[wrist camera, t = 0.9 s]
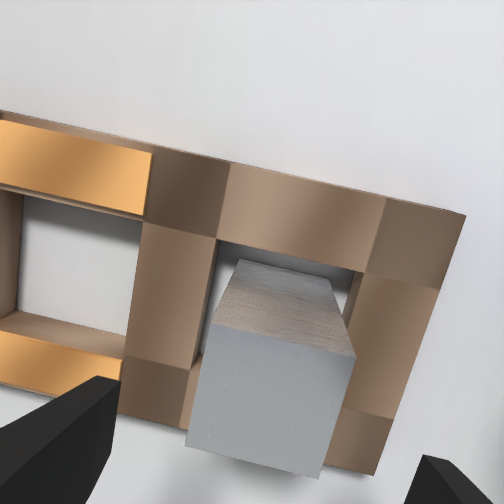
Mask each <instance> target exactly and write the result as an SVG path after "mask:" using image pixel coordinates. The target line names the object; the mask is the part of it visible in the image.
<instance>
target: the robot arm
mask: <svg viewBox="0 0 504 504" xmlns="http://www.w3.org/2000/svg"><path fill="white" fill-rule="evenodd" d="M121 382H122V381H119V380H115V379H111V378H107V377H103V376H99V375H96V376H94V377H92V378H91V379H89V380H87V381H85V382H83V383H82V384H80V385H78V386H76V387H75V388H73V389H71V390H69V391H68V392H66V393H64V394H62V395H61V396H59V397H57V398H55V399H54V400H52V401H50V402H48V403H46V404H45V405H43V406H41V407H39V408H37V409H36V410H34V411H32V412H30V413H28V414H26V415H25V416H23V417H21V418H19V419H17V420H15V421H14V422H12V423H10V424H8V425H6V426H4V427H2V428H0V504H85V503H86V501H87V500H88V498H89V497H90V495H91V493H92V491H93V489H94V487H95V485H96V483H97V481H98V479H99V477H100V475H101V472H102V470H103V468H104V466H105V464H106V462H107V460H108V458H109V456H110V454H111V449H112V442H113V436H114V429H115V422H116V416H117V409H118V402H119V396H120V389H121ZM404 504H493V503H492V502H491V501H490V500H489V499H488V498H487V497H486V496H485V495H484V494H483V493H482V492H481V491H480V490H479V489H478V488H477V487H476V486H475V485H474V484H473V483H472V482H471V481H470V480H469V479H468V478H467V477H466V476H465V475H464V474H463V473H462V472H461V471H460V470H459V469H458V468H457V467H456V466H455V465H454V464H452V463H451V462H450V461H449V460H445V459H441V458H436V457H432V456H428V455H424V454H423V455H422V458H421V460H420V463H419V466H418V468H417V471H416V473H415V476H414V479H413V481H412V484H411V486H410V489H409V491H408V494H407V497H406V499H405V502H404Z"/></svg>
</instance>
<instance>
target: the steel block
mask: <svg viewBox="0 0 504 504" xmlns="http://www.w3.org/2000/svg"><path fill="white" fill-rule="evenodd" d="M355 361H356V355H355V352H354V349H353V346H352V344H351V341H350V338H349V335H348V332H347V329H346V327H345V324H344V321H343V318H342V315H341V312H340V310H339V307H338V304H337V301H336V298H335V295H334V292H333V290H332V287H331V284H330V281H329V279H327V278H323V277H318V276H314V275H310V274H305V273H301V272H297V271H292V270H288V269H284V268H279V267H275V266H271V265H267V264H262V263H258V262H254V261H249V260H245V259H241V258H240V259H239V261H238V263H237V266H236V268H235V270H234V272H233V274H232V276H231V279H230V281H229V283H228V285H227V287H226V289H225V292H224V294H223V296H222V298H221V300H220V302H219V305H218V307H217V309H216V311H215V313H214V315H213V318H212V320H211V322H210V325H209V330H208V335H207V340H206V345H205V350H204V355H203V360H202V364H201V369H200V374H199V379H198V384H197V389H196V394H195V399H194V404H193V408H192V413H191V418H190V423H189V428H188V433H187V438H186V443H185V446H187V447H191V448H195V449H199V450H203V451H207V452H211V453H215V454H219V455H223V456H227V457H231V458H235V459H239V460H243V461H247V462H251V463H255V464H259V465H263V466H267V467H271V468H275V469H279V470H283V471H287V472H291V473H295V474H299V475H304V476H308V477H312V478H316V479H319V476H320V472H321V469H322V466H323V463H324V460H325V456H326V453H327V450H328V447H329V444H330V441H331V437H332V434H333V431H334V428H335V425H336V421H337V418H338V415H339V412H340V409H341V406H342V402H343V399H344V396H345V393H346V390H347V386H348V383H349V380H350V377H351V374H352V371H353V367H354V364H355Z"/></svg>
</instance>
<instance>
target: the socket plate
mask: <svg viewBox="0 0 504 504" xmlns="http://www.w3.org/2000/svg"><path fill="white" fill-rule="evenodd" d="M23 194H25V195H29V196H34V197H38V198H42V199H47V200H51V201H55V202H60V203H64V204H68V205H73V206H77V207H81V208H86V209H90V210H94V211H99V212H103V213H107V214H112V215H116V216H120V217H125V218H129V219H133V220H138V221H142V222H143V226H142V233H141V240H140V247H139V254H138V260H137V267H136V274H135V281H134V287H133V294H132V301H131V308H130V314H129V321H128V328H127V335H126V336H122V335H118V334H114V333H110V332H106V331H102V330H97V329H93V328H89V327H85V326H81V325H77V324H72V323H68V322H64V321H60V320H56V319H52V318H48V317H43V316H39V315H35V314H31V313H27V312H23V311H18V310H15V309H16V295H17V280H18V266H19V251H20V237H21V222H22V208H23ZM465 219H466V216H465V215H462V214H459V213H456V212H453V211H450V210H445V209H441V208H436V207H432V206H428V205H423V204H419V203H414V202H410V201H405V200H401V199H396V198H392V197H387V196H383V195H378V194H374V193H370V192H365V191H361V190H356V189H352V188H347V187H343V186H338V185H334V184H329V183H325V182H321V181H316V180H312V179H307V178H303V177H298V176H294V175H289V174H285V173H280V172H276V171H272V170H267V169H263V168H258V167H254V166H249V165H245V164H240V163H236V162H231V161H227V160H222V159H218V158H214V157H209V156H205V155H200V154H196V153H191V152H187V151H182V150H178V149H173V148H169V147H165V146H160V145H156V144H151V143H147V142H142V141H138V140H133V139H129V138H124V137H120V136H116V135H111V134H107V133H102V132H98V131H93V130H89V129H84V128H80V127H75V126H71V125H66V124H62V123H58V122H53V121H49V120H44V119H40V118H35V117H31V116H26V115H22V114H17V113H13V112H9V111H4V110H0V384H3V385H7V386H11V387H15V388H19V389H23V390H27V391H31V392H35V393H39V394H43V395H47V396H51V397H55V398H57V397H59V396H61V395H62V394H64V393H66V392H68V391H69V390H71V389H73V388H75V387H76V386H78V385H80V384H82V383H83V382H85V381H87V380H89V379H91V378H92V377H94V376H96V375H99V376H103V377H107V378H111V379H115V380H119V381H122V382H121V389H120V396H119V402H118V409H117V413H120V414H124V415H128V416H132V417H136V418H141V419H145V420H149V421H153V422H157V423H161V424H165V425H169V426H173V427H177V428H181V429H185V430H188V428H189V423H190V418H191V413H192V408H193V404H194V399H195V394H196V389H197V384H198V379H199V374H200V369H201V364H202V360H203V355H201V354H198V349H199V344H200V339H201V334H202V329H203V324H204V319H205V314H206V309H207V304H208V299H209V294H210V289H211V284H212V279H213V274H214V269H215V264H216V259H217V254H218V249H219V244H220V240H224V241H229V242H233V243H237V244H242V245H246V246H250V247H255V248H259V249H263V250H268V251H272V252H276V253H281V254H285V255H289V256H294V257H298V258H302V259H307V260H311V261H315V262H320V263H324V264H328V265H333V266H337V267H341V268H346V269H350V270H354V271H355V274H354V277H353V280H352V284H351V287H350V291H349V294H348V297H347V301H346V304H345V308H344V311H343V314H342V318H343V321H344V324H345V327H346V329H347V332H348V335H349V338H350V341H351V344H352V346H353V349H354V352H355V355H356V361H355V364H354V367H353V371H352V374H351V377H350V380H349V383H348V386H347V390H346V393H345V396H344V399H343V402H342V406H341V409H340V412H339V415H338V418H337V421H336V425H335V428H334V431H333V434H332V437H331V441H330V444H329V447H328V450H327V453H326V456H325V460H324V463H323V464H327V465H331V466H335V467H339V468H343V469H347V470H351V471H355V472H359V473H363V474H367V475H372V476H374V474H375V471H376V468H377V465H378V463H379V460H380V457H381V454H382V451H383V449H384V446H385V443H386V440H387V437H388V435H389V432H390V429H391V426H392V423H393V421H394V418H395V415H396V412H397V409H398V407H399V404H400V401H401V398H402V395H403V393H404V390H405V387H406V384H407V381H408V379H409V376H410V373H411V370H412V367H413V364H414V362H415V359H416V356H417V353H418V350H419V348H420V345H421V342H422V339H423V336H424V334H425V331H426V328H427V325H428V322H429V320H430V317H431V314H432V311H433V308H434V306H435V303H436V300H437V297H438V294H439V292H440V289H441V286H442V283H443V280H444V278H445V275H446V272H447V269H448V266H449V264H450V261H451V258H452V255H453V252H454V250H455V247H456V244H457V241H458V238H459V236H460V233H461V230H462V227H463V224H464V222H465Z"/></svg>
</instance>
